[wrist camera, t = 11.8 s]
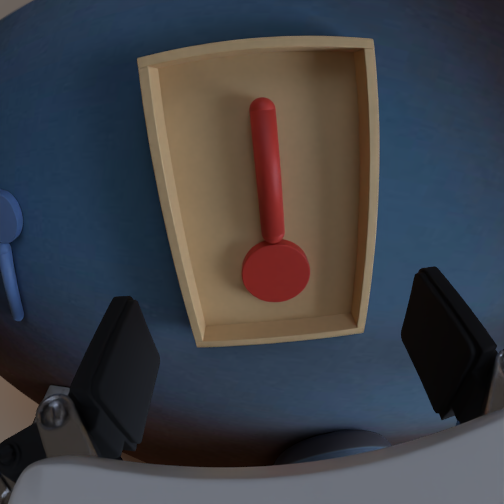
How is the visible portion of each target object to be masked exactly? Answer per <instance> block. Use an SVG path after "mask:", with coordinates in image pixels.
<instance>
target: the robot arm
mask: <svg viewBox="0 0 504 504" xmlns="http://www.w3.org/2000/svg"><path fill="white" fill-rule="evenodd" d="M401 338H402V341H403V343H404V345H405V347H406V349H407V352H408V354H409V356H410V358H411V360H412V362H413V364H414V366H415V368H416V371H417V373H418V375H419V377H420V379H421V382H422V384H423V386H424V388H425V391H426V393H427V395H428V398H429V400H430V402H431V405H432V407H433V409H434V411H435V412H436V413H439V415H440V417H441V420H444V419H447V418H449V417H452V416H456V419H457V423H456V426H454V427H452V428H449V429H446V430H443V431H440V432H437V433H434V434H431V435H428V436H425V437H422V438H418V439H415V440H412V441H408V442H405V443H401V444H397V445H394V446H390V447H386V448H382V449H378V450H373V451H369V452H364V453H359V454H354V455H349V456H344V457H338V458H333V459H326V460H320V461H312V462H305V463H296V464H286V465H274V466H258V467H185V466H170V465H158V464H147V463H138V462H130V461H123V460H122V458H121V453H122V450H129V451H136V446H137V444H140V443H141V441H142V437H143V432H144V428H145V423H146V419H147V415H148V410H149V406H150V402H151V397H152V393H153V389H154V385H155V381H156V377H157V373H158V369H159V365H160V357H159V353H158V351H157V349H156V346H155V344H154V342H153V339H152V337H151V334H150V332H149V329H148V327H147V324H146V322H145V319H144V317H143V314H142V312H141V309H140V306H139V304H138V302H137V301H136V300H133V298H132V297H131V296H119V297H114V298H113V299H112V301H111V303H110V305H109V307H108V309H107V311H106V313H105V315H104V317H103V319H102V321H101V323H100V325H99V326H98V328H97V330H96V332H95V335H94V337H93V339H92V341H91V343H90V345H89V347H88V349H87V351H86V353H85V355H84V357H83V360H82V362H81V364H80V366H79V368H78V370H77V373H76V375H75V377H74V379H73V382H72V384H71V386H70V389H69V390H70V391H69V393H68V396H67V395H65V394H61V393H59V394H53V395H50V396H48V397H47V398H45V399H44V400H43V401H42V402H41V403H40V405H39V406H38V408H37V412H36V422H35V423H34V424H32V425H31V426H29V427H27V428H25V429H23V430H22V431H20V432H18V433H17V434H15V435H13V436H11V437H10V438H8V439H6V440H4V441H3V442H2V443H0V504H504V349H503V350H501V351H500V352H499V353H497V351H496V350H495V349H496V347H497V345H496V344H495V342H494V341H493V339H492V338H491V336H490V335H489V334H488V332H487V331H486V329H485V328H484V327H483V325H482V324H481V322H480V321H479V320H478V318H477V317H476V316H475V314H474V313H473V312H472V310H471V309H470V308H469V306H468V305H467V304H466V303H465V301H464V300H463V299H462V297H461V296H460V295H459V294H458V292H457V291H456V290H455V289H454V287H453V286H452V285H451V284H450V282H449V281H448V280H447V279H446V278H445V276H444V275H443V274H442V273H441V272H440V270H439V269H438V268H437V267H428V268H421V269H420V270H419V272H418V273H417V274H415V277H414V281H413V286H412V290H411V295H410V299H409V303H408V307H407V311H406V315H405V319H404V323H403V327H402V330H401Z"/></svg>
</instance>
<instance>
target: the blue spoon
mask: <svg viewBox="0 0 504 504" xmlns="http://www.w3.org/2000/svg"><path fill="white" fill-rule="evenodd" d="M22 227H23V216H22V211H21V208H20V206H19V204H18V202H17V200H16V199H15V197H14V196H13V195H12V194H11V193H10V192H8V191H6V190H3V189H0V242H1V243H0V268H1V273H2V278H3V283H4V287H5V291H6V295H7V300H8V303H9V307H10V311H11V314H12V317H13V319H14V320H16V321H21V320H22V319H23V317H24V311H23V307H22V303H21V299H20V294H19V289H18V284H17V279H16V274H15V268H14V263H13V256H12V249H11V246H10V244H9V243H10V242H12V241H13V240H14V239H16V238H17V237H18V236H19V235H20V233H21V231H22Z"/></svg>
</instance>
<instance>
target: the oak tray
mask: <svg viewBox="0 0 504 504" xmlns="http://www.w3.org/2000/svg"><path fill="white" fill-rule="evenodd" d="M137 63H138V68H139V70H138V71H139V79H140V87H141V94H142V102H143V108H144V115H145V122H146V128H147V134H148V140H149V146H150V152H151V158H152V163H153V169H154V174H155V179H156V184H157V189H158V194H159V199H160V204H161V209H162V213H163V218H164V222H165V227H166V231H167V236H168V240H169V244H170V249H171V253H172V257H173V261H174V265H175V269H176V273H177V277H178V281H179V285H180V288H181V292H182V296H183V300H184V303H185V307H186V311H187V314H188V318H189V321H190V325H191V328H192V332H193V335H194V338H195V341H196V345H197V347H221V346H240V345H255V344H268V343H280V342H291V341H301V340H310V339H319V338H328V337H336V336H343V335H351V334H358V333H363V332H364V327H365V321H366V315H367V308H368V302H369V294H370V287H371V278H372V270H373V261H374V250H375V239H376V226H377V211H378V190H379V108H378V89H377V74H376V62H375V52H374V43H373V39H368V38H356V37H339V36H279V37H262V38H249V39H239V40H230V41H222V42H215V43H208V44H202V45H196V46H190V47H185V48H180V49H175V50H170V51H165V52H161V53H156V54H152V55H148V56H144V57H140V58H137ZM260 97H265V98H268V99H270V100H271V101H272V102H273V103H274V105H275V108H276V119H277V130H278V142H279V155H280V167H281V181H282V195H283V210H284V226H285V234H284V237H283V239H285V240H288V241H291V242H293V243H295V244H296V245H298V246H299V247H300V248H301V249H302V250H303V251H304V253H305V254H306V256H307V259H308V262H309V266H310V278H309V281H308V283H307V285H306V287H305V288H304V289H303V291H302V292H301V293H299V294H298V295H297V296H295V297H294V298H292V299H289V300H287V301H283V302H266V301H263V300H260V299H258V298H256V297H254V296H253V295H252V294H251V293H250V292H249V291H248V290H247V289H246V287H245V285H244V283H243V280H242V264H243V260H244V258H245V256H246V254H247V253H248V251H249V250H250V249H251V248H252V247H253V246H255V245H256V244H258V243H260V242H262V241H265V240H264V239H263V237H262V233H261V223H260V213H259V203H258V192H257V182H256V172H255V162H254V152H253V142H252V133H251V123H250V113H249V107H250V104H251V103H252V101H253V100H255V99H256V98H260Z"/></svg>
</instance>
